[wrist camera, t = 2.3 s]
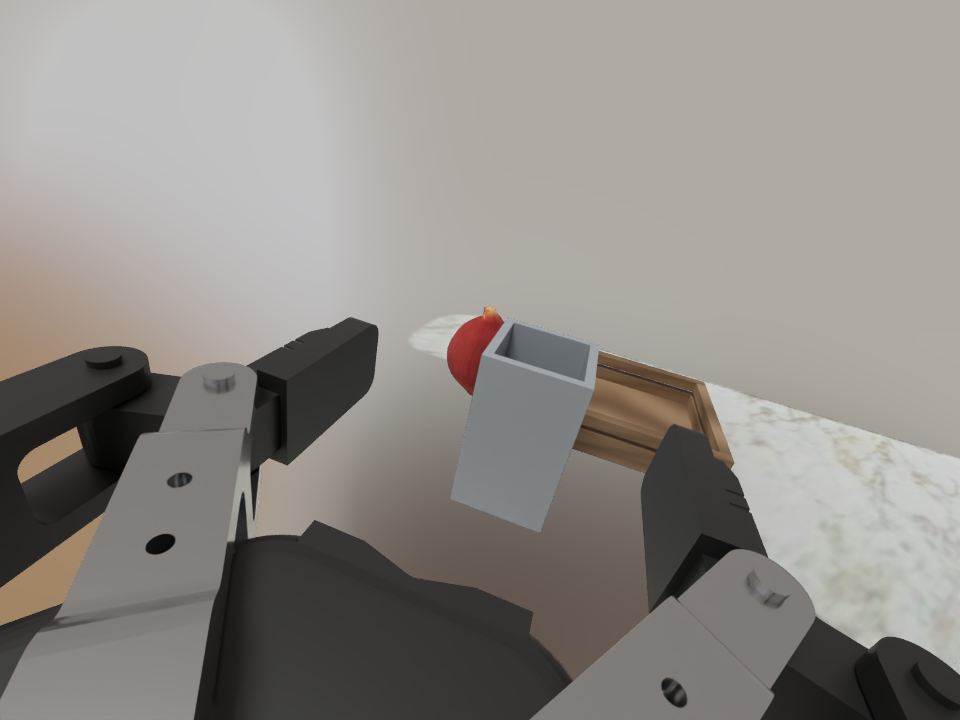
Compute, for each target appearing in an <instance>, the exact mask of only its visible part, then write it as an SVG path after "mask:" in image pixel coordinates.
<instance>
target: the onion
mask: <svg viewBox="0 0 960 720" xmlns="http://www.w3.org/2000/svg"><path fill="white" fill-rule="evenodd" d="M503 324H504V321H503V320H502V319H501V317H500V316H499V315H498V314H497V312H496V309H494V308H493V307H490V306H489V307H485V308H484V313H483V316H479V317H476V318H474V319H472V320H470V321H468V322H466V323H465V324H464V325H462V326H461V327H460V328H459V329H458V331H457V332H456V333H455V335H454V336H453V338H452V339H451V341H450V344H449V346H448V351H447V362H448V366H449V369H450V371H451V374H452V375H453V377H454V378H455V379H456V380H457V381H458V382H459V383H460V385H462V387H464V389H466V391H467V392H468V393H469V394H470V395H472V396H473V392H474V388H475V383H476V378H477V374H478V369H479V365H480V360H481V355H482V354H483V352H484V351H485V349H486V348H487V346H488V345H489V344H490V342H491V341H492V339H493V338H494V336H495V335H496V334H497V332H498V331H499V329H500V328H501V327H502V325H503Z"/></svg>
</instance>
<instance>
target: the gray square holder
mask: <svg viewBox="0 0 960 720" xmlns="http://www.w3.org/2000/svg"><path fill="white" fill-rule="evenodd" d="M598 352H599V344H596V343H592V342H589V341H585V340H582V339H579V338H575V337H572V336H569V335H565V334H562V333H558V332H555V331H552V330H548V329H545V328H542V327H538V326H535V325H531V324H528V323H524V322H521V321H518V320H514V319H511V318H507V319H506V321H505V322H504V324H503V325H502V327H501V328H500V329H499V331H498V332H497V334H496V335H495V336H494V338H493V339H492V341H491V342H490V344H489V345H488V346H487V348H486V349H485V351H484V352H483V354H482V355H481V360H480V365H479V369H478V374H477V378H476V383H475V388H474V392H473V397H472V401H471V406H470V410H469V415H468V420H467V424H466V429H465V433H464V438H463V442H462V447H461V452H460V456H459V461H458V465H457V470H456V474H455V479H454V484H453V488H452V493H451V498H450V499H452V500H454V501H457V502H459V503H462V504H465V505H467V506H470V507H472V508H475V509H478V510H481V511H483V512H486V513H488V514H491V515H494V516H496V517H499V518H501V519H504V520H507V521H509V522H512V523H515V524H518V525H520V526H522V527H525V528H528V529H531V530H533V531H536V532H538V533H540V531H541V529H542V526H543V524H544V521H545V518H546V516H547V513H548V510H549V508H550V505H551V503H552V500H553V497H554V494H555V492H556V489H557V487H558V484H559V482H560V479H561V476H562V474H563V471H564V468H565V466H566V463H567V460H568V457H569V455H570V453H571V450H572V447H573V445H574V442H575V439H576V437H577V434H578V431H579V429H580V426H581V424H582V421H583V418H584V416H585V413H586V410H587V408H588V405H589V403H590V400H591V397H592V395H593V392H594V388H595V379H596V370H597V361H598Z"/></svg>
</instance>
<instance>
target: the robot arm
mask: <svg viewBox="0 0 960 720" xmlns="http://www.w3.org/2000/svg"><path fill="white" fill-rule="evenodd" d="M377 343H378V328H377V326H376V325H373V324H370V323H367V322H364V321H361V320H358V319H355V318H351V317H350V318H347V319H345V320H344V321H342V322H340V323H338V324H336V325H335V326H333V327H331V328H325V329H320V330H315V331H311V332H308V333H306V334H305V335H303V336H301V337H299V338H297V339H296V340H295V341H291V342H290V343H288V344H286V345H284V347H280V348H279V349H277V350H275V351H273V352H271V353H269V354H267V355H266V356H264V357H262V358H260V359H259V360H256V361H255V362H253V363H251V364H249V365H247V366H244V365H241V364H236V363H225V362H223V363H211V364H206V365H202V366H198V367H196V368H194V369H191V370H189V371H188V372H187V373H185V374H184V375H183V376H182V377H178V376H171V375H163V374H156V373H151V372H150V367H149V361H148V357H147V355H146V354H145V353H144V352H142V351H140V350H138V349H135V348H130V347H122V346H108V347H99V348H93V349H88V350H84V351H80V352H77V353H75V354H72V355H69V356H67V357H64V358H61V359H59V360H56V361H54V362H51V363H48V364H45V365H43V366H40V367H38V368H35V369H32V370H30V371H27V372H25V373H22V374H19V375H16V376H14V377H11V378H9V379H6V380H3V381H1V382H0V587H2V586H3V585H5V584H6V583H7V582H9V581H10V580H12V579H13V578H14V577H16V576H17V575H18V574H20V573H21V572H23V571H24V570H25V569H27V568H28V567H29V566H31V565H32V564H34V563H35V562H36V561H38V560H39V559H40V558H42V557H43V556H45V555H46V554H47V553H49V552H50V551H51V550H53V549H54V548H55V547H57V546H58V545H60V544H61V543H62V542H64V541H65V540H66V539H68V538H69V537H71V536H72V535H73V534H75V533H76V532H77V531H79V530H80V529H81V528H83V527H84V526H86V525H87V524H88V523H90V522H91V521H93V520H94V519H95V518H97V517H98V516H99V515H101V514H102V513H103V512H104V515H103V517H102V519H101V521H100V523H99V526H98V528H97V530H96V532H95V534H94V536H93V539H92V541H91V543H90V545H89V547H88V550H87V552H86V554H85V556H84V559H83V561H82V563H81V565H80V567H79V570H78V572H77V574H76V576H75V578H74V580H73V583H72V585H71V587H70V589H69V591H68V594H67V596H66V598H65V600H64V602H63V603H62V604H60V605H57V606H54V607H51V608H48V609H46V610H43V611H40V612H37V613H35V614H32V615H29V616H26V617H23V618H20V619H18V620H15V621H12V622H9V623H6V624H4V625H1V626H0V720H960V675H959V674H958V673H957V672H956V671H954V670H953V669H952V668H951V667H950V666H948V665H947V664H946V663H944V662H943V661H942V660H940V659H939V658H938V657H936V656H935V655H933V654H932V653H930V652H929V651H927V650H925V649H923V648H922V647H920V646H918V645H916V644H914V643H912V642H909V641H907V640H904V639H901V638H896V637H885V638H882V639H881V640H879V641H878V642H877V643H876V644H875V645H874V646H872V647H871V648H870V649H867V648H866V647H864V646H862V645H861V644H859V643H857V642H856V641H854V640H853V639H851V638H849V637H848V636H846V635H844V634H843V633H841V632H839V631H838V630H836V629H835V628H833V627H831V626H830V625H828V624H826V623H825V622H823V621H822V620H820V619H819V618H817V617H816V616H815V609H814V606H813V603H812V601H811V599H810V597H809V595H808V594H807V592H806V591H805V589H804V588H803V587H802V585H801V584H800V583H799V582H798V581H797V580H796V579H795V578H794V577H793V576H792V575H791V574H790V573H789V572H788V571H786V570H785V569H784V568H783V567H781V566H780V565H779V564H777V563H776V562H774V561H772V560H771V559H769V558H768V556H767V553H766V550H765V548H764V545H763V543H762V540H761V537H760V535H759V532H758V530H757V527H756V524H755V522H754V519H753V517H752V514H751V513H750V512H749V510H750V509H749V506H748V504H747V501H746V499H745V498H744V493H743V491H742V488H741V485H740V483H739V480H738V478H737V477H736V476H735V475H734V473H733V472H732V471H731V470H730V469H729V467H728V466H727V465H726V464H725V463H724V461H721V460H718V459H715V458H714V455H713V452H712V449H711V446H710V443H709V440H708V437H707V435H706V434H704V433H701V432H698V431H695V430H691V429H688V428H685V427H682V426H679V425H676V424H673V425H671V426H670V428H669V429H668V430H667V432H666V434H665V436H664V438H663V440H662V442H661V444H660V446H659V448H658V450H657V452H656V453H655V455H654V457H653V459H652V461H651V463H650V465H649V467H648V469H647V471H646V473H645V476H644V479H643V483H642V488H641V504H642V519H643V532H644V547H645V561H646V576H647V590H648V604H649V613H650V614H649V615H648V616H647V617H646V618H644V619H643V620H642V621H641V622H640V623H639V624H638V625H637V626H636V627H634V628H633V629H632V630H631V631H630V632H629V633H627V634H626V635H625V636H624V637H623V638H622V639H621V640H619V641H618V642H617V643H616V644H615V645H614V646H613V647H612V648H610V649H609V650H608V651H607V652H606V653H605V654H604V655H602V657H600V658H599V659H598V660H597V661H596V662H594V663H593V664H592V665H591V666H590V667H589V668H588V669H587V670H585V671H584V672H583V673H582V674H581V675H580V676H579V677H577V678H576V679H575V680H574V681H573V679H572V678H571V676H570V675H569V674H568V673H567V671H566V670H565V668H564V667H563V666H562V664H561V663H560V662H559V661H558V659H557V658H556V657H555V656H554V655H553V654H552V653H551V652H550V651H549V650H548V649H547V648H546V647H545V646H544V645H543V644H542V643H541V642H540V641H539V640H538V639H536V638H535V637H534V636H532V635H531V634H530V633H529V631H530V626H531V621H532V616H533V612H531V611H529V610H527V609H524V608H522V607H520V606H517V605H515V604H513V603H510V602H507V601H505V600H503V599H501V598H498V597H496V596H494V595H491V594H489V593H486V592H484V591H482V590H479V589H477V588H473V587H467V586H460V585H454V584H448V583H441V582H435V581H429V580H423V579H417V578H413V577H411V576H410V575H408V574H407V573H405V572H404V571H403V570H401V569H400V568H399V567H397V566H396V565H395V564H394V563H392V562H391V561H390V560H388V559H387V558H386V557H385V556H383V555H382V554H381V553H379V552H378V551H377V550H376V549H374V548H373V547H372V546H370V545H369V544H368V543H366V542H365V541H363V540H361V539H359V538H356V537H353V536H351V535H349V534H347V533H344V532H342V531H339V530H337V529H335V528H332V527H330V526H328V525H325V524H323V523H320V522H318V521H316V520H314V521H313V523H312V524H311V525H310V526H309V527H308V529H307V530H306V531H305V532H304V533H303V534H302V536H297V535H268V536H261V537H256V527H257V516H258V506H259V495H260V484H261V464H262V463H264V462H265V461H266V460H267V459H268V458H270V459H273V460H275V461H278V462H280V463H283V464H285V465H288V464H290V463H291V462H292V461H293V460H294V459H295V458H296V457H297V456H298V455H299V454H301V453H302V452H303V451H304V450H305V449H306V448H307V447H308V446H309V445H311V444H312V443H313V442H314V441H315V440H316V439H317V438H318V437H319V436H320V435H322V434H323V433H324V432H325V431H326V430H327V429H328V428H329V427H330V426H331V425H333V424H334V423H335V422H336V421H337V420H338V419H339V418H340V417H341V416H342V415H344V414H345V413H346V412H347V411H348V410H349V409H350V408H351V407H352V406H353V405H355V403H357V402H358V401H359V400H360V399H361V398H362V397H363V396H364V395H365V394H366V393H367V392H368V390H369V388H370V387H371V384H372V382H373V378H374V372H375V363H376V353H377ZM74 427H77V430H78V433H79V437H80V440H81V443H82V447H83V448H82V449H81V450H79V451H77V452H75V453H74V454H72V455H70V456H68V457H67V458H65V459H63V460H61V461H60V462H58V463H56V464H54V465H53V466H51V467H49V468H48V469H46V470H44V471H42V472H41V473H39V474H37V475H35V476H34V477H32V478H30V479H28V480H27V481H25V482H23V483H20V481H19V479H18V475H17V470H18V467H19V464H20V462H21V461H22V459H23V458H24V457H25V456H26V455H27V454H28V453H29V452H30V451H32V450H33V449H34V448H37V447H38V446H40V445H42V444H44V443H46V442H48V441H50V440H52V439H53V438H55V437H57V436H59V435H61V434H63V433H65V432H67V431H69V430H71V429H73V428H74Z"/></svg>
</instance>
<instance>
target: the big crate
mask: <svg viewBox="0 0 960 720" xmlns="http://www.w3.org/2000/svg"><path fill="white" fill-rule="evenodd" d="M598 363H599V364H598ZM601 364H602V365H601ZM604 365H606V366H604ZM608 366H609V367H608ZM611 367H612V368H611ZM614 368H616V369H614ZM618 369H619V370H618ZM621 370H622V371H621ZM624 371H626V372H624ZM628 372H629V373H628ZM631 373H632V374H631ZM634 374H635V375H634ZM638 375H639V376H638ZM641 376H642V377H641ZM644 377H645V378H644ZM647 378H649V379H647ZM651 379H652V380H651ZM654 380H655V381H654ZM657 381H659V382H657ZM661 382H662V383H661ZM664 383H665V384H664ZM667 384H669V385H667ZM671 385H672V386H671ZM674 386H675V387H674ZM677 387H678V388H677ZM680 388H682V389H680ZM684 389H685V390H684ZM687 390H688V391H687ZM690 391H692V392H690ZM673 424H676V425H679V426H682V427H685V428H688V429H691V430H695V431H698V432H701V433H704V434H706V435H707V437H708V440H709V443H710V446H711V449H712V452H713V455H714V458H715V459H718V460H721V461H724V463H725V464H726V465H727V466H728V467H729V469H731V468H732V466H733V464H734V460H733V458H732V455H731V452H730V450H729V447H728V444H727V442H726V439H725V436H724V434H723V431H722V428H721V426H720V423H719V420H718V418H717V415H716V412H715V410H714V407H713V404H712V402H711V399H710V396H709V394H708V391H707V388H706V386H705V383H704V382H702V381H698V380H695V379H692V378H688V377H685V376H682V375H678V374H675V373H671V372H668V371H665V370H661V369H658V368H655V367H651V366H648V365H645V364H641V363H638V362H634V361H631V360H628V359H624V358H621V357H618V356H614V355H611V354H608V353H604V352H601V351H599V352H598V361H597V370H596V379H595V388H594V392H593V395H592V397H591V400H590V403H589V405H588V408H587V410H586V413H585V416H584V418H583V421H582V424H581V426H580V429H579V431H578V434H577V437H576V439H575V442H574V445H573V447H572V448H573V449H575V450H578V451H581V452H584V453H587V454H590V455H593V456H596V457H599V458H602V459H605V460H608V461H611V462H614V463H617V464H620V465H623V466H626V467H628V468H632V469H635V470H637V471H640V472H643V473H646V471H647V469H648V467H649V465H650V463H651V461H652V459H653V457H654V455H655V453H656V452H657V450H658V448H659V446H660V444H661V442H662V440H663V438H664V436H665V434H666V432H667V430H668V429H669V428H670V426H671V425H673Z"/></svg>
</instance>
